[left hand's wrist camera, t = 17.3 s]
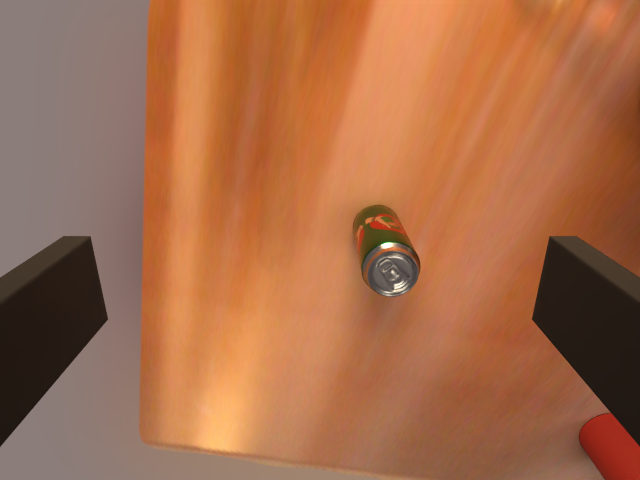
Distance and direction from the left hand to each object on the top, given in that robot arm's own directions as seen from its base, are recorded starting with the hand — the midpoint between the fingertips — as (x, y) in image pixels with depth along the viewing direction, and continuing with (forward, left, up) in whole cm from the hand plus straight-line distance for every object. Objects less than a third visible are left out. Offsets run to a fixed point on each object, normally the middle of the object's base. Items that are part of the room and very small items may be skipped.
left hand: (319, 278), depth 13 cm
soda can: (+1, +12, -33) cm, 35 cm away
